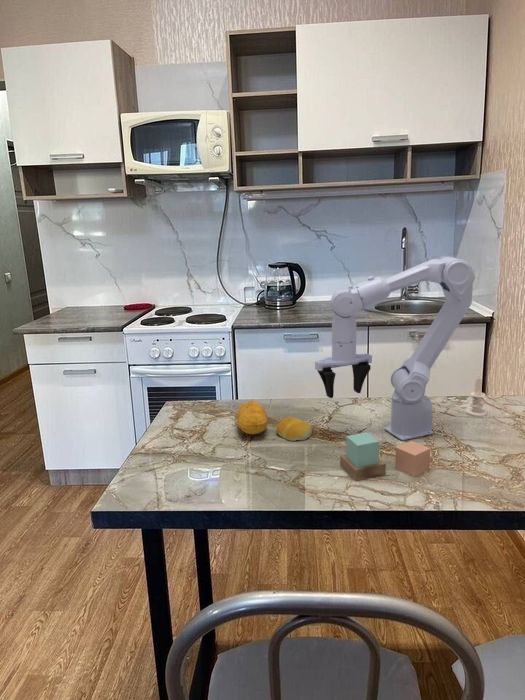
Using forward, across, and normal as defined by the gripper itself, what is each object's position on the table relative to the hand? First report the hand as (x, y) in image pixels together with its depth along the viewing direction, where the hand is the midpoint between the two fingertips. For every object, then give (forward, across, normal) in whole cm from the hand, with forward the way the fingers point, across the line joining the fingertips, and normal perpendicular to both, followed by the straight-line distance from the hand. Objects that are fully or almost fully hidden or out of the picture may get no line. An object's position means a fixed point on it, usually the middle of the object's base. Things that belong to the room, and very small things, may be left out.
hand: (343, 394), depth 128 cm
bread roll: (+11, +11, -5) cm, 16 cm away
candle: (+10, -38, +4) cm, 40 cm away
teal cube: (+8, +6, +18) cm, 21 cm away
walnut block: (+11, +6, +18) cm, 22 cm away
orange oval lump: (+11, +20, -12) cm, 26 cm away
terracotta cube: (+10, -4, +22) cm, 25 cm away
